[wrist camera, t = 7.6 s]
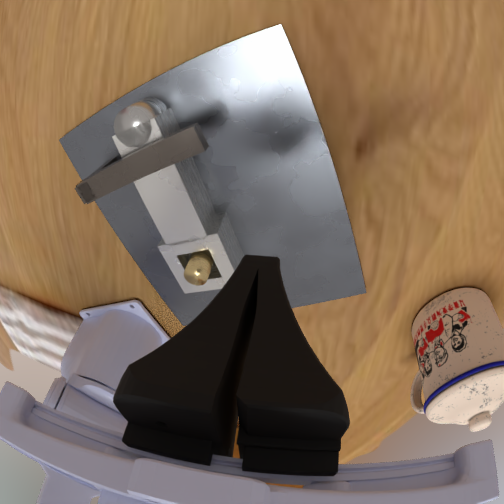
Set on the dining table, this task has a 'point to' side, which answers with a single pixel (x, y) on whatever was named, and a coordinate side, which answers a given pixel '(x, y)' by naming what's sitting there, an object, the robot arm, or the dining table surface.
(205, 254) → the peg
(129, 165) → the bracket
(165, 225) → the link
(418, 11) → the dining table surface
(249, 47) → the base plate
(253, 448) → the robot arm
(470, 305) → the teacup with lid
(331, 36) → the dining table surface
